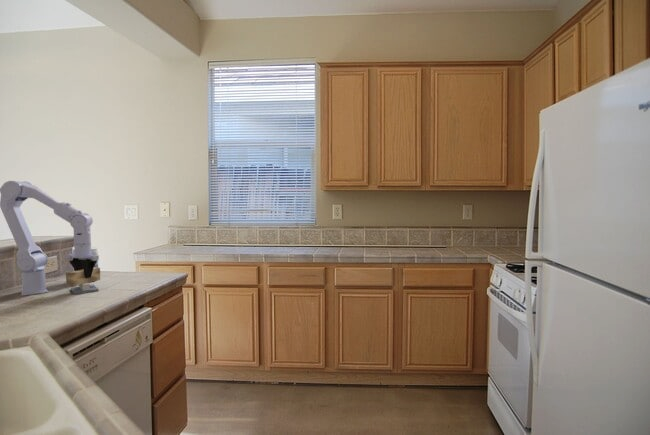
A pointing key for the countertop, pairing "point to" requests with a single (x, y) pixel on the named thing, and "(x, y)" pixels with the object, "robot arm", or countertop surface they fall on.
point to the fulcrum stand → (84, 288)
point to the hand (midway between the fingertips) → (83, 277)
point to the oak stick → (81, 277)
